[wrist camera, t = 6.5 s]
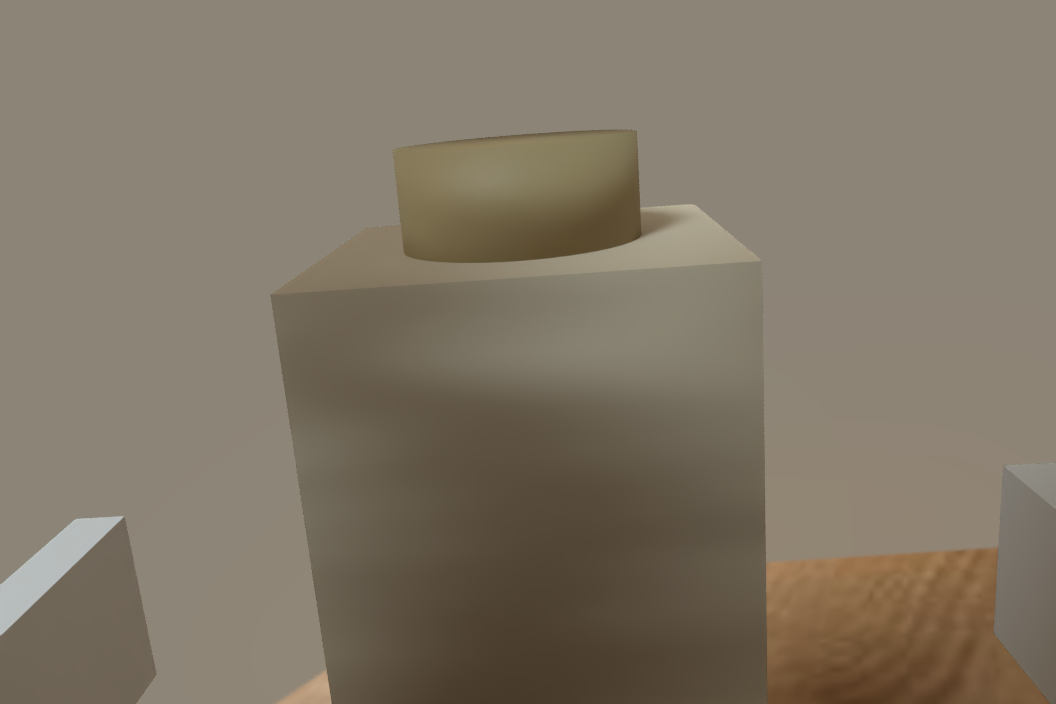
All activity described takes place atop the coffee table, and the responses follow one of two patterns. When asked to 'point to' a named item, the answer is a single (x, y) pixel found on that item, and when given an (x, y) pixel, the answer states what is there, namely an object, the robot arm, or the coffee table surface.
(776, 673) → the coffee table surface
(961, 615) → the coffee table surface
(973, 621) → the coffee table surface
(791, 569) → the coffee table surface
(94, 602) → the robot arm
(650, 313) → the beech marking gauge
